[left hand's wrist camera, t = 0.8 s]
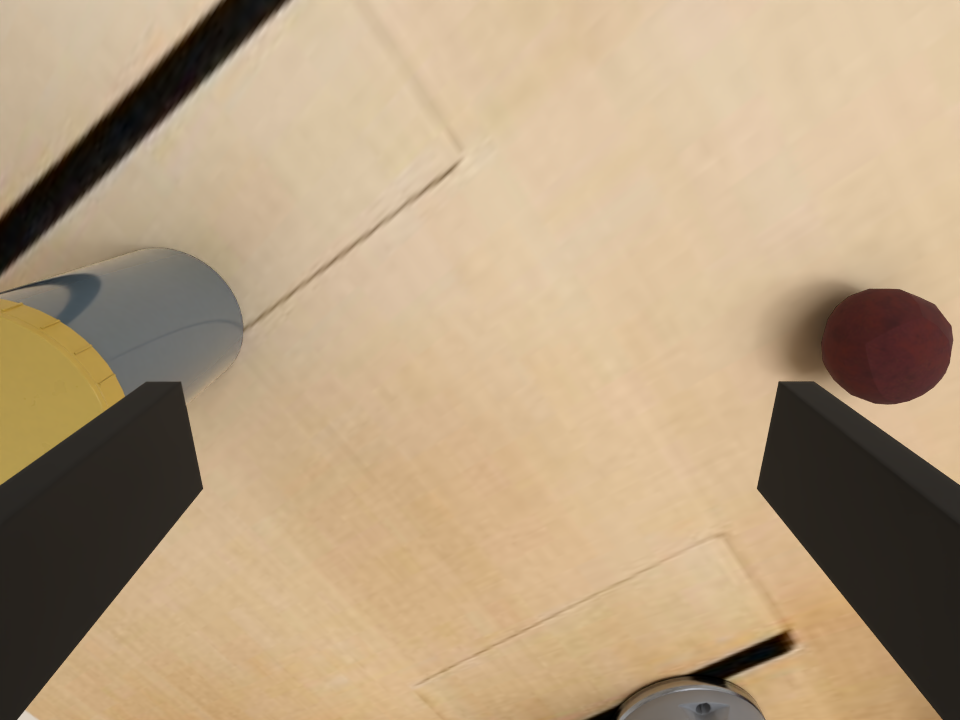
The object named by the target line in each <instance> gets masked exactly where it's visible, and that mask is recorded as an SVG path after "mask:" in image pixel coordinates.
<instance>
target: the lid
mask: <svg viewBox="0 0 960 720" xmlns="http://www.w3.org/2000/svg"><path fill="white" fill-rule="evenodd" d="M124 397H125V395H124V392H123V390H122V388H121V386H120V384H119V382H118V380H117V378H116V375H115V374H114V373H113V372H112V370H111V369H110V367H109V366H108V364H107V363H106V362H105V360H104V359H103V358H102V357H101V356H100V354H99V353H98V352H97V351H96V350H95V349H94V348H93V347H92V345H91V344H89V343H88V342H87V341H86V340H85V339H84V338H82V337H81V336H80V335H79V334H77V333H76V332H75V331H74V330H72V329H71V328H70V327H68V326H66V325H65V324H63V323H62V322H60V320H59V319H58V320H57V319H55V318H53V317H51V316H49V315H47V314H46V313H44V312H42V311H40V310H37V309H34V308H32V307H29V306H26V305H24V304H23V303H21V302H20V303H16V302H13V301H9V300H4V299H0V485H1V484H3V483H4V482H5V481H7V480H8V479H10V478H11V477H12V476H14V475H15V474H17V473H18V472H20V471H21V470H22V469H24V468H25V467H27V466H28V465H29V464H31V463H32V462H34V461H35V460H36V459H38V458H39V457H41V456H42V455H43V454H45V453H46V452H48V451H49V450H51V449H52V448H53V447H55V446H56V445H58V444H59V443H60V442H62V441H63V440H65V439H66V438H67V437H69V436H70V435H72V434H73V433H74V432H76V431H77V430H79V429H80V428H81V427H83V426H84V425H86V424H87V423H89V422H90V421H91V420H93V419H94V418H96V417H97V416H98V415H100V414H101V413H103V412H104V411H105V410H107V409H108V408H110V407H111V406H112V405H114V404H115V403H117V402H118V401H120V400H121V399H122V398H124Z"/></svg>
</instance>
